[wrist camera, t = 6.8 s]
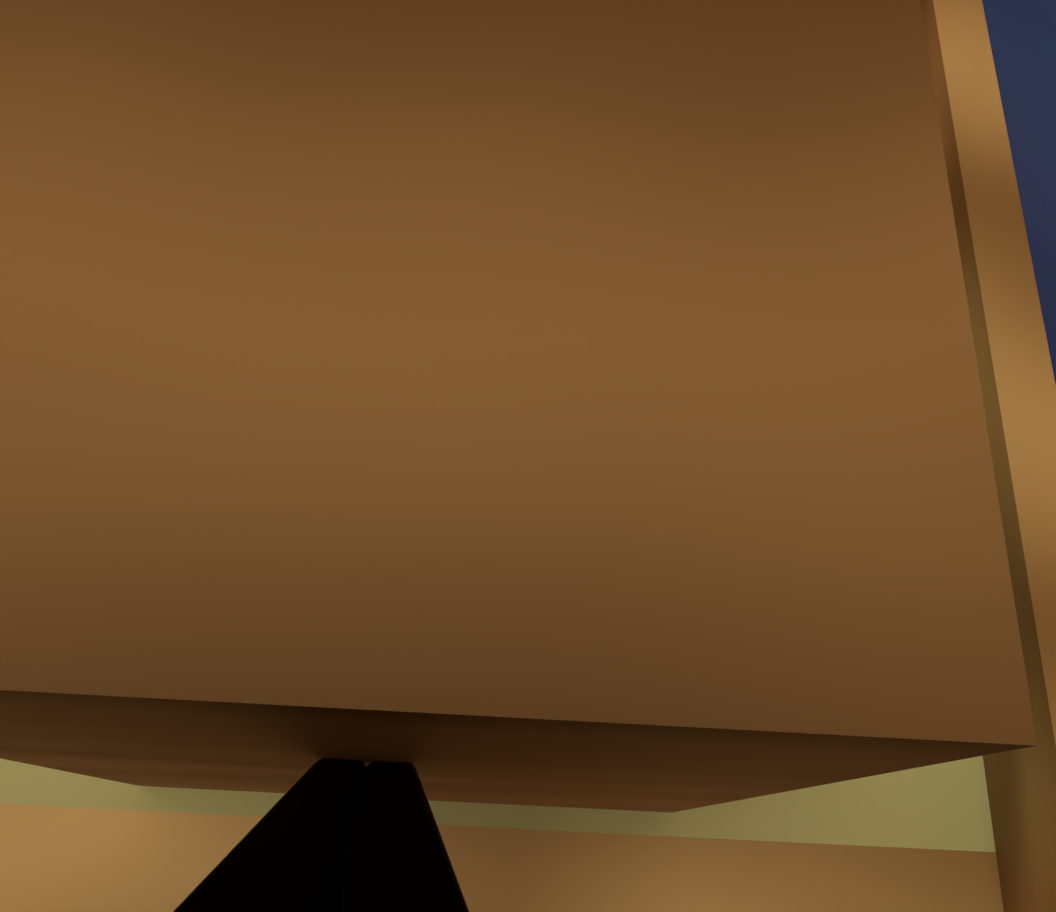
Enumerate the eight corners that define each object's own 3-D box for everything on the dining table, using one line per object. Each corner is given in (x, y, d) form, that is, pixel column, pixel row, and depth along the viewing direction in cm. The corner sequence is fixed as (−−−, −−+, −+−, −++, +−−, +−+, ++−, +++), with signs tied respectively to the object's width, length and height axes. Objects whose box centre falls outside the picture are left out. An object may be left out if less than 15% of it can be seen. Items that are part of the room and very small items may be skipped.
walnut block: (671, 812, 14) (1036, 746, 5) (139, 786, 14) (-472, 664, 5) (665, 351, 18) (887, -202, 8) (228, 321, 17) (-42, -289, 8)
